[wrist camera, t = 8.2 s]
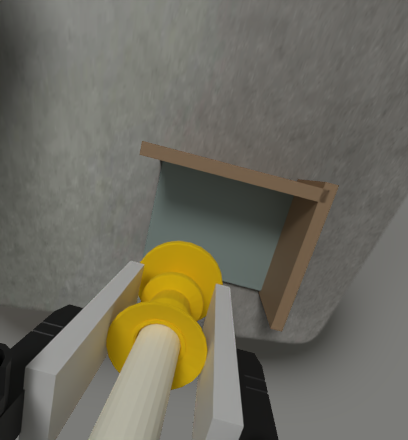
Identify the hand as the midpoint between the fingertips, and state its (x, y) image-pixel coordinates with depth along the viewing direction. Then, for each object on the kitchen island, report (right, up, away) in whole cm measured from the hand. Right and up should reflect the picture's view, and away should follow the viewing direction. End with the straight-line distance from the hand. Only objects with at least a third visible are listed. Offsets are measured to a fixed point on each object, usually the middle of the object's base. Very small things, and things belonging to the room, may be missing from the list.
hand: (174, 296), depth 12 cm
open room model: (+3, +3, +16) cm, 17 cm away
